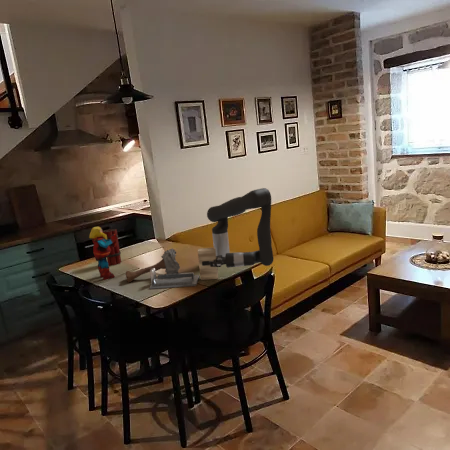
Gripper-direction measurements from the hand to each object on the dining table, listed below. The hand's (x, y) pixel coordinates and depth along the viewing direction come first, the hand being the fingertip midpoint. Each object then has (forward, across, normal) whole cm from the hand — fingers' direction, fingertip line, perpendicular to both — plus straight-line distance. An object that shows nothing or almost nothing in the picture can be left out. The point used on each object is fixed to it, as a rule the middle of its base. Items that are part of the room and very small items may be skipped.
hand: (202, 262), depth 214 cm
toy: (+56, -14, +9) cm, 59 cm away
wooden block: (-3, 0, +9) cm, 9 cm away
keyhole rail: (+15, +3, +9) cm, 18 cm away
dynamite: (+62, -41, +9) cm, 75 cm away
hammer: (+29, -9, +10) cm, 32 cm away
